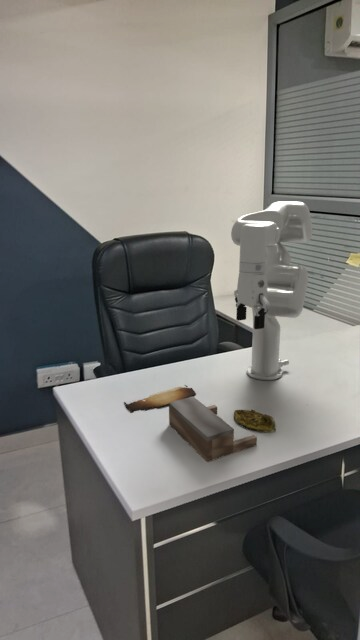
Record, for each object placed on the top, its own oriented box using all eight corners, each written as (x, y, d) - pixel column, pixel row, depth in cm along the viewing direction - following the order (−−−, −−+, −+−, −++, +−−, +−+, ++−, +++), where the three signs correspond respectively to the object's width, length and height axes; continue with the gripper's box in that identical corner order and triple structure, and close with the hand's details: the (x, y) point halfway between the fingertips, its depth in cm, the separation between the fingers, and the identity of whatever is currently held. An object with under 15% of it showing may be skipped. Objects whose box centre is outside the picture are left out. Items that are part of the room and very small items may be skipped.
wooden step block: (214, 412, 146) (214, 390, 144) (256, 445, 129) (257, 421, 127) (169, 424, 139) (168, 402, 137) (207, 462, 122) (207, 437, 120)
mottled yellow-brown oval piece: (224, 423, 143) (266, 441, 133) (223, 409, 141) (266, 426, 131) (243, 408, 149) (285, 425, 139) (242, 395, 147) (284, 411, 137)
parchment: (186, 385, 165) (186, 382, 165) (202, 395, 157) (202, 392, 157) (120, 404, 153) (120, 402, 153) (135, 417, 145) (134, 414, 145)
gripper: (281, 271, 133) (277, 330, 138) (247, 262, 148) (245, 315, 153) (258, 273, 130) (255, 333, 135) (226, 263, 145) (224, 318, 150)
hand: (249, 324), depth 144 cm, fingers open, 9 cm apart
